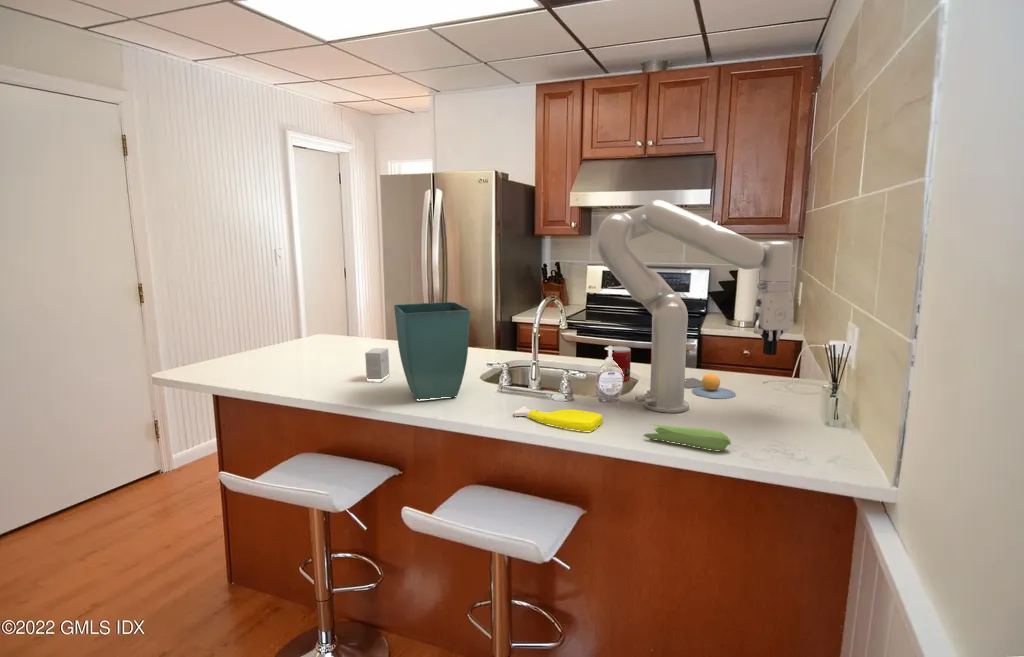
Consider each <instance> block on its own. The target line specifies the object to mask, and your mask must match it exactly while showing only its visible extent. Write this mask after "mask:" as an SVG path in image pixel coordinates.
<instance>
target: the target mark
mask: <svg viewBox="0 0 1024 657" xmlns="http://www.w3.org/2000/svg"><path fill="white" fill-rule="evenodd" d="M691 392H692V394H694V395H695V394H696V396H698V397H701V396H702V398H705V397H707V399H713V398H715V400H721V399H722V400H727V398H728V399H732V398H735V397H736V395H737V394H736V392H735V391H734V390H732V389H727V388H725V387H724V388H723V387H720V386H719V387H718V388H717V389H716V390H714V391H709V390H707V389H705V388H704V387H696V388H692V390H691Z"/></svg>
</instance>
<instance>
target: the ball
mask: <svg viewBox="0 0 1024 657" xmlns="http://www.w3.org/2000/svg"><path fill="white" fill-rule="evenodd" d="M701 381H702V385H703V387H704V388H705V389H707V390H709V391H714V390H716V389H717V388H718V387H719V388H720V385H721V380H720V377H719V376H718V375H717V374H714V373H706V374H705V375H703V377H702V380H701Z"/></svg>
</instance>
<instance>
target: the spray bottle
mask: <svg viewBox="0 0 1024 657" xmlns="http://www.w3.org/2000/svg"><path fill="white" fill-rule="evenodd" d="M513 416H528V417H529V418H531V419H530V420H532V419H534V420H536V421H535V422H537V421H540V422H543V423H545V424H550V425H554V426H558V427H562V428H567V429H574V430H580V431H593V430H594V429H595V428H597V427H598V426H599V425H600V426H601V425H602V424H603V416H602V414H601V413H597V412H592V411H587V410H586V411H585V410H580V409H559V410H555V411H551V412H547V411H546V412H545V411H541V410H540V411H539V409H531V408H527V406H526V405H524V406H522V407H520V408H518V409H516V410H514V411H513ZM529 418H528V419H529ZM534 420H533V421H534ZM545 424H544V425H545ZM600 426H599V427H600ZM599 427H598V428H599ZM598 428H597V429H598ZM595 430H596V429H595ZM595 430H594V431H595ZM594 431H593V432H594Z"/></svg>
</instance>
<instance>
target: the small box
mask: <svg viewBox="0 0 1024 657" xmlns="http://www.w3.org/2000/svg"><path fill="white" fill-rule="evenodd" d="M364 355H365V356H364V358H365V372H366V373H365V374H366V379H367V378H368V379H382V378H384V377H385V376H387V375H388V374H389V375H390V359H389V358H390V357H389V355H390V354H389V348H383V347H382V348H381V347H379V348H378V347H373V348H372V349H370V350H368V351H366V352H365V353H364Z"/></svg>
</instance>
